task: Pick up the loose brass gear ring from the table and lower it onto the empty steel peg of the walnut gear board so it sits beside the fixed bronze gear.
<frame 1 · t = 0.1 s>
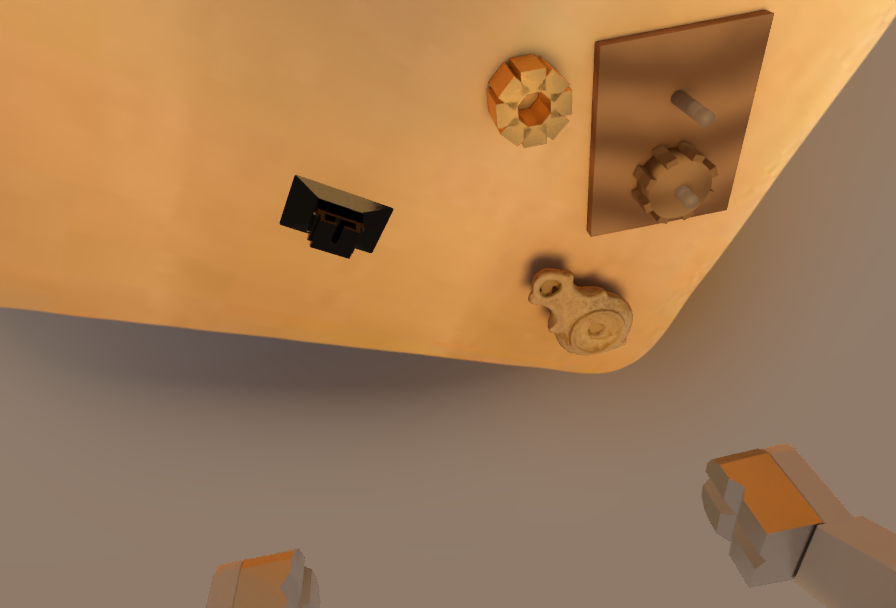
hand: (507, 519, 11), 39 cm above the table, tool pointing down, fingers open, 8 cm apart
brass gear: (522, 93, 45), on the table
oil lamp: (569, 296, 60), on the table
black stand: (335, 212, 50), on the table
gear board: (665, 133, 49), on the table
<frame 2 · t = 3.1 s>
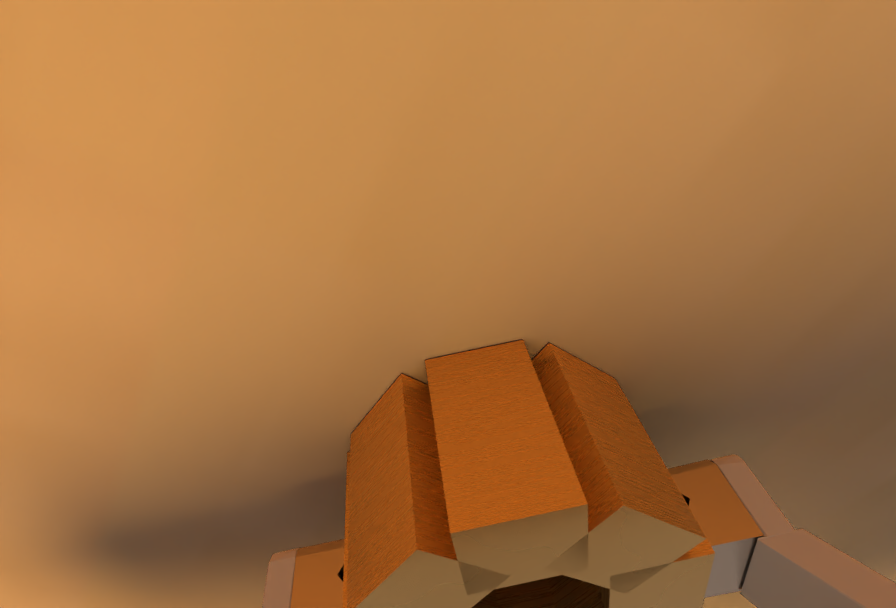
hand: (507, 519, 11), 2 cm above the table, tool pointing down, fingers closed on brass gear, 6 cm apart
brass gear: (491, 451, 12), on the table, touching gripper
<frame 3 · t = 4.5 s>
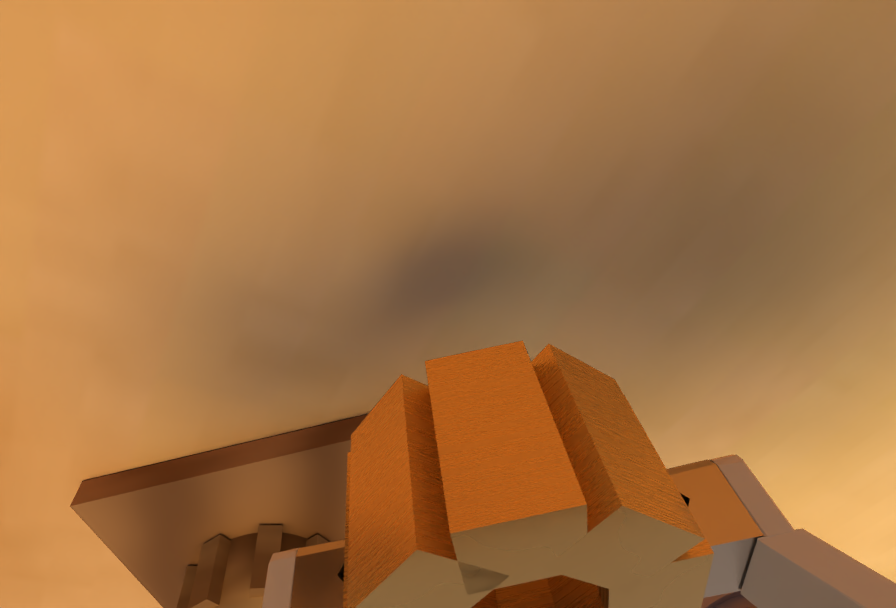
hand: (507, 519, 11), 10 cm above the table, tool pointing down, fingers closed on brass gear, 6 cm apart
brass gear: (491, 452, 12), point 9 cm above the table, touching gripper
turned wooden finial: (722, 590, 37), on the table
gear board: (344, 527, 26), on the table
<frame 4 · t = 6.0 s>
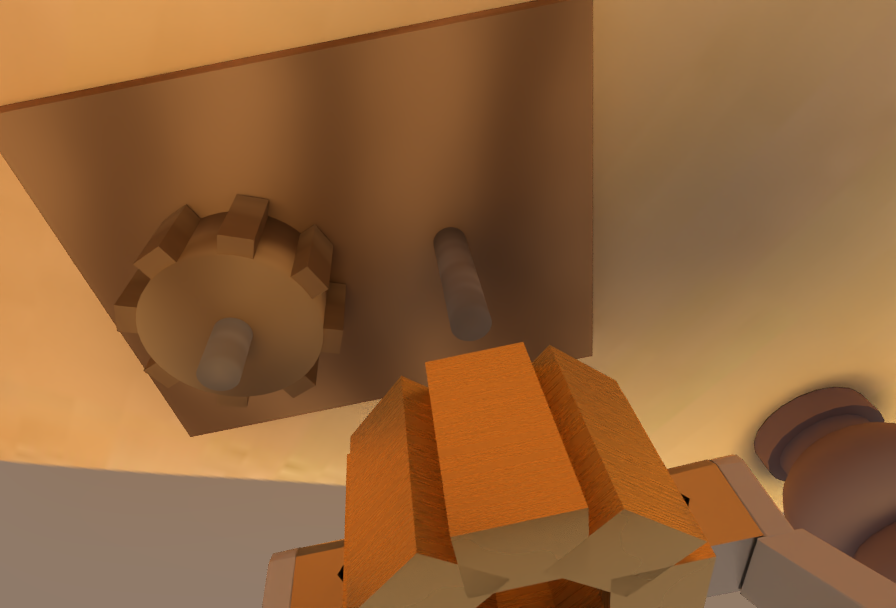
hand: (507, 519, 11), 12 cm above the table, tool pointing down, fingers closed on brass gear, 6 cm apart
brass gear: (491, 453, 12), point 11 cm above the table, touching gripper
turned wooden finial: (806, 424, 31), on the table
gear board: (350, 246, 20), on the table
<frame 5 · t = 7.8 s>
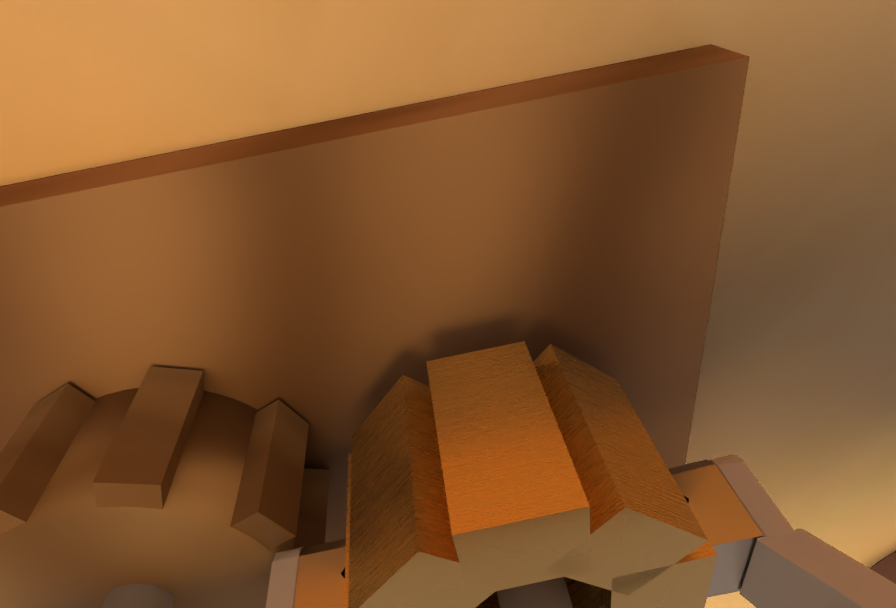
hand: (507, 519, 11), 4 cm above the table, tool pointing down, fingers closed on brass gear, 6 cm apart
brass gear: (492, 452, 12), point 2 cm above the table, touching gripper
gear board: (337, 405, 14), on the table
when the fingers open (4 cm above the table, at t = 9.1 s): brass gear drops 1 cm, resting on gear board.
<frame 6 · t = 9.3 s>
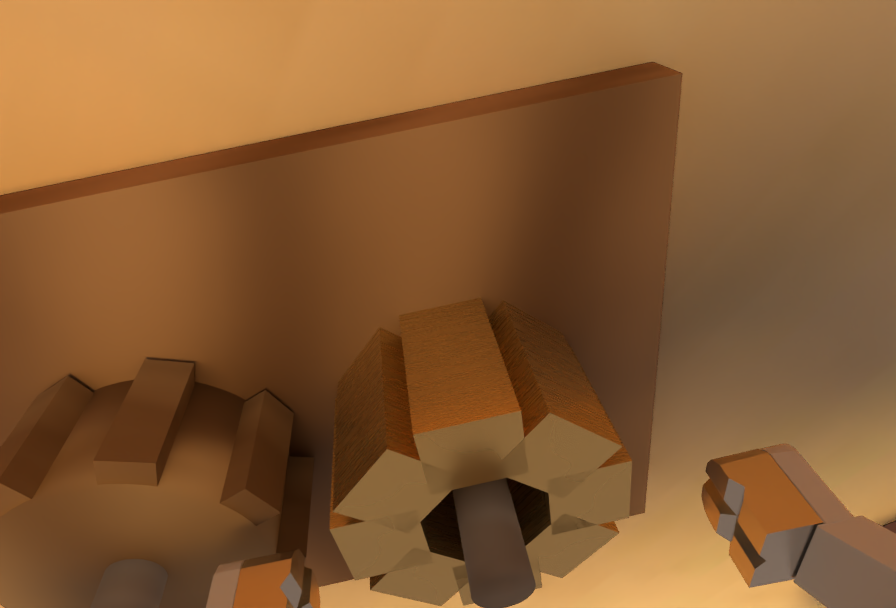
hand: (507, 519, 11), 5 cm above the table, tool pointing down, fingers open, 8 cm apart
brass gear: (459, 399, 14), point 1 cm above the table, touching gear board
gear board: (321, 397, 15), on the table
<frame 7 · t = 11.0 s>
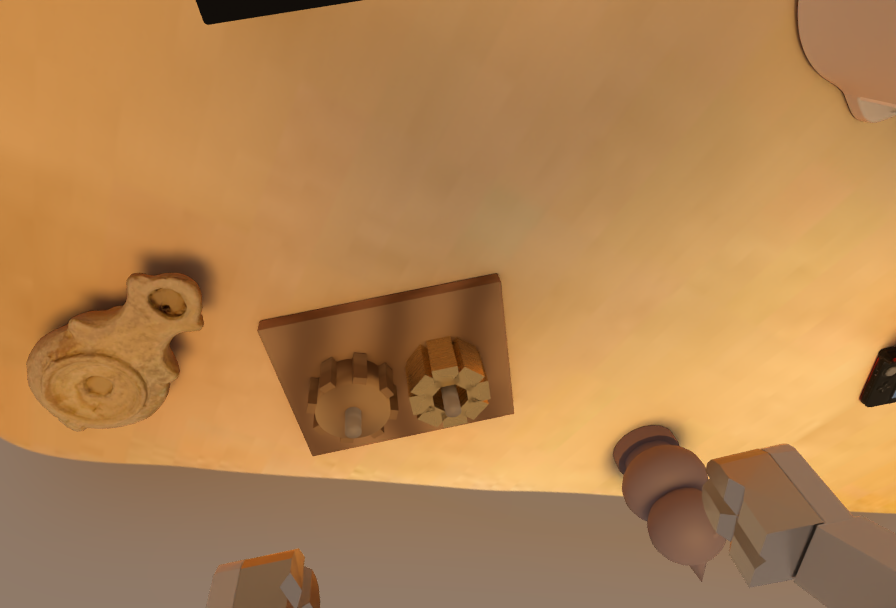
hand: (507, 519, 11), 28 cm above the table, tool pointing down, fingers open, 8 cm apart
brass gear: (443, 367, 43), point 1 cm above the table, touching gear board
oil lamp: (132, 325, 39), on the table
turned wooden finial: (641, 445, 55), on the table
gear board: (397, 366, 44), on the table
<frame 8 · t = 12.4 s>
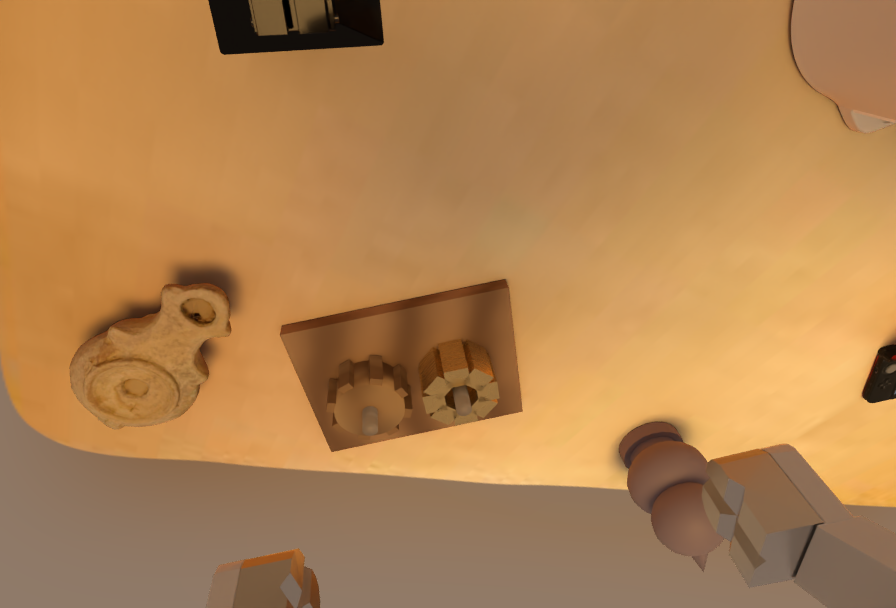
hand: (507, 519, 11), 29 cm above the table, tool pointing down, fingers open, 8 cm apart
brass gear: (455, 367, 45), point 1 cm above the table, touching gear board
oil lamp: (164, 330, 42), on the table
turned wooden finial: (646, 440, 57), on the table
gear board: (411, 367, 46), on the table
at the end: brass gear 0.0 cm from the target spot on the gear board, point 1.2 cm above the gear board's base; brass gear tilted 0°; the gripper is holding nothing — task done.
